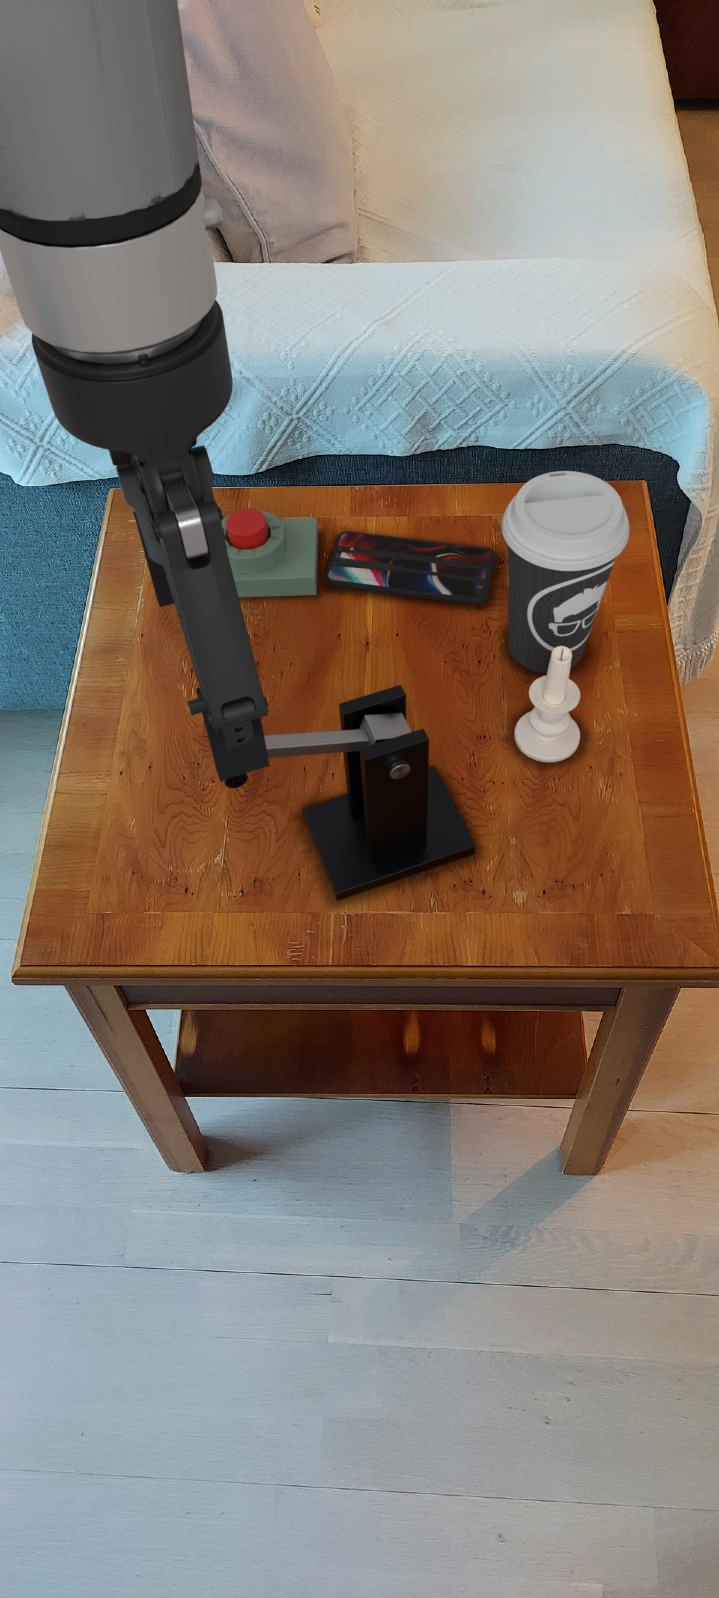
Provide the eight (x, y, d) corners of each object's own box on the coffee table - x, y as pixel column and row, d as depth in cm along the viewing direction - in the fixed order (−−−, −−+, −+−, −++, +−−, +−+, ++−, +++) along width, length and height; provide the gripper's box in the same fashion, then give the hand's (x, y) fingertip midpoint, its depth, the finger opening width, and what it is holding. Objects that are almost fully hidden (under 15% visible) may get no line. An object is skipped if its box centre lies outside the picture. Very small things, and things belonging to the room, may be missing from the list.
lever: (221, 794, 61) (228, 768, 59) (200, 734, 63) (206, 707, 62) (410, 776, 66) (422, 752, 64) (383, 722, 69) (394, 697, 67)
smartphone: (486, 602, 88) (322, 581, 91) (486, 607, 89) (322, 586, 91) (497, 547, 92) (340, 528, 95) (497, 553, 93) (340, 534, 95)
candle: (577, 766, 79) (598, 679, 70) (511, 759, 80) (523, 671, 71) (581, 715, 82) (600, 625, 73) (516, 708, 82) (529, 618, 74)
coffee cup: (609, 615, 88) (641, 473, 76) (593, 696, 83) (625, 558, 70) (501, 597, 90) (516, 456, 77) (480, 676, 85) (492, 537, 72)
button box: (185, 599, 91) (177, 566, 88) (194, 540, 96) (186, 506, 93) (316, 595, 91) (313, 561, 88) (318, 535, 95) (315, 501, 92)
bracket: (336, 901, 73) (322, 794, 62) (302, 816, 77) (283, 701, 66) (475, 854, 75) (486, 741, 63) (434, 773, 79) (438, 654, 68)
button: (227, 550, 89) (224, 535, 88) (230, 524, 91) (227, 508, 90) (267, 549, 89) (265, 534, 88) (269, 522, 91) (267, 507, 90)
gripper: (318, 480, 33) (345, 831, 50) (146, 157, 46) (215, 523, 64) (91, 538, 31) (201, 877, 49) (-17, 189, 45) (99, 553, 62)
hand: (209, 677), depth 56 cm, fingers open, 13 cm apart
